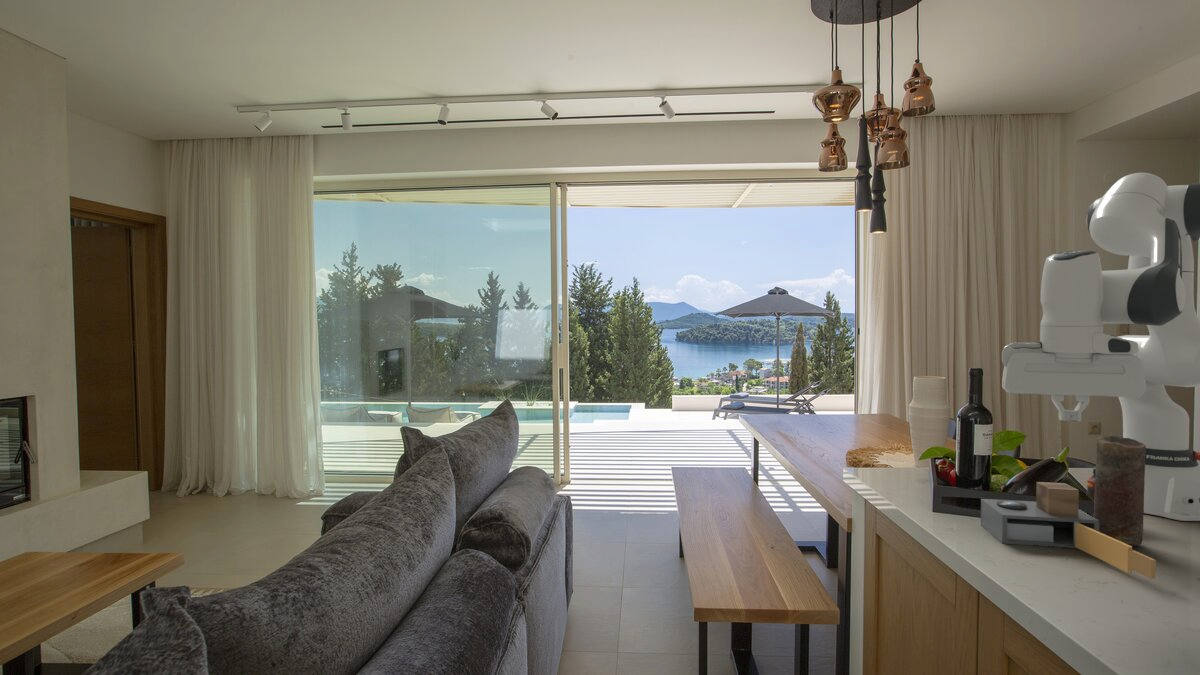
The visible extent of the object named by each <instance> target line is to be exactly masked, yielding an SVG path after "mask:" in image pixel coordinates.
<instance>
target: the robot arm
mask: <svg viewBox="0 0 1200 675" xmlns="http://www.w3.org/2000/svg"><path fill="white" fill-rule="evenodd" d="M1086 214H1087V215H1086V219H1085V221H1086V227H1087V230H1088V233H1089V235H1090V237H1091V239H1092V240H1093V242H1094V243H1095V244H1096V246H1098V247H1100V248H1101V249H1102V250H1104V251H1106V252H1108V253H1109V254H1110V253H1111V254H1112V255H1118V256H1127V257H1128V256H1129V258H1128V263H1127V264H1128V265H1127V269H1113V270H1112V269H1111V270H1103V269H1102V263H1101V258H1100V253H1099V252H1097V251H1095V250H1091V249H1089V250H1088V249H1083V250H1082V249H1080V250H1069V251H1064V252H1062V251H1061V252H1057V253H1053V254H1051V255H1050V256H1048V257H1046V259H1045V262H1044V265H1043V269H1042V270H1043V271H1042V275H1041V276H1042V277H1041V284H1040V304H1041V307H1042V317H1041V321H1040V323H1039V324H1040V325H1039V328H1040V329H1039V342H1037V341H1036V342H1033V341H1032V342H1031V341H1030V342H1019V341H1016V342H1011V343H1010V344H1007V345H1005V346H1004V347H1003V348H1002V350H1001V352H1000V353H1001V356H1000V359H1001V363H1002V365H1003V366H1004V367H1003V371H1002V378H1001V380H1002V381H1001V387H1002V389H1003V390H1004V391H1005V392H1006V393H1009V394H1016V395H1017V394H1018V395H1019V394H1020V395H1021V394H1022V395H1024V394H1025V395H1050V396H1051V397H1050V401H1052V403H1053V404H1054V406H1055V408H1056V410H1058V420H1060V421H1064V422H1065V421H1066V422H1082V412H1084V410H1085V409H1086V408H1087V407H1088V405H1089V404H1090V400H1091V399H1090V397H1117V398H1118V400H1119V403H1120V406H1121V411H1122V412H1121V413H1122V437H1123V438H1130V439H1133V440H1136V441H1138V442H1141V443H1143V444H1144V445H1146V453H1145V480H1144V482H1145V485H1144V514H1147V515H1154V516H1158V517H1164V518H1166V519H1167V518H1168V519H1172V520H1176V521H1183V522H1200V466H1199V462H1198V461H1200V451H1198V452H1197V451H1195V450H1194V449H1191V448H1190V415H1189V414H1188V412H1187V410H1186V409H1185V408H1184V407H1183V406H1181V405H1179V404H1178V403H1176V402H1175V401H1173V400H1172V399H1171V397H1170V395H1169V394H1168V393H1167V390H1166V388H1165V386H1168V387H1169V386H1171V387H1183V388H1195V387H1197V388H1199V387H1200V320H1199V317H1198V314H1197V312H1196V307H1195V294H1194V292H1195V291H1194V290H1195V284H1194V283H1195V281H1194V280H1195V277H1194V276H1195V273H1194V272H1195V259H1194V258H1195V257H1194V250H1193V248H1194V247H1193V243H1192V242H1197V241H1199V239H1200V183H1199V182H1195V183H1194V182H1191V183H1190V184H1179V185H1177V184H1176V185H1167V183H1166V181H1164V179H1162V178H1161V177H1160V176H1158V175H1156V174H1153V173H1149V172H1134V173H1129V174H1128V175H1124V176H1123V177H1121V178H1119V179H1118V180H1117V181H1115V183H1113V185H1111V187H1109V188H1108V190H1106V192H1105V193H1104V194H1103V196H1102V197H1099V198H1096V199H1095V200H1094V201H1093V202H1092V203H1091V204H1090V205H1089V207H1088V210H1087V213H1086ZM1104 324H1110V325H1111V324H1114V325H1115V324H1121V325H1122V324H1125V325H1126V324H1127V325H1128V324H1131V325H1133V324H1135V325H1142V326H1143V325H1144V326H1146V327H1147V329H1148V333H1149V335H1147V334H1145V335H1144V334H1143V335H1142V334H1141V335H1138V334H1134V335H1133V334H1125V335H1124V334H1123V335H1120V336H1118V335H1114V334H1107V333H1105V332H1104ZM1065 396H1075V399H1076V401H1078V403H1077V405H1076V406H1075V407H1074V409H1065V407H1064V405H1063V403H1062V402H1064V401H1065Z"/></svg>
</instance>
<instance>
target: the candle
mask: <svg viewBox="0 0 1200 675" xmlns="http://www.w3.org/2000/svg"><path fill="white" fill-rule="evenodd" d="M1145 453H1146V445H1144V444H1143V443H1141V442H1138V441H1136V440H1133V439H1130V438H1123V436H1116V435H1105V436H1104V435H1101V436H1099V437H1097V439H1096V456H1095V467H1096V475H1095V496H1094V513H1093V517H1094V518H1096V519H1097V520H1099V532H1100V533H1103V534H1105V535H1107V536H1109V537H1112V538H1114V539H1116V540H1119V541H1121V542H1123V543H1125V544H1128V545H1130V546H1132V547H1136V546H1138V545H1141V544H1142V543H1143V540H1144V516H1145V515H1144V514H1145V513H1144V485H1145V482H1144V480H1145Z"/></svg>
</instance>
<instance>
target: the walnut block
mask: <svg viewBox="0 0 1200 675" xmlns="http://www.w3.org/2000/svg"><path fill="white" fill-rule="evenodd" d="M1079 492H1080V490H1079V489H1078V488H1075V487H1074V486H1071V485H1070V484H1068V483H1066V482H1049V481H1048V482H1044V481H1042V482H1041V481H1036V493H1035V494H1036V495H1035V497H1036V498H1035V500H1036V501H1035V502H1036V507H1037V508H1039V509H1040V510H1042V511H1044V512H1045V513H1047V514H1048V515H1065V516H1078V509H1079V507H1080V506H1079V504H1080V502H1079V500H1080V499H1079V498H1080V495H1079Z"/></svg>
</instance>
